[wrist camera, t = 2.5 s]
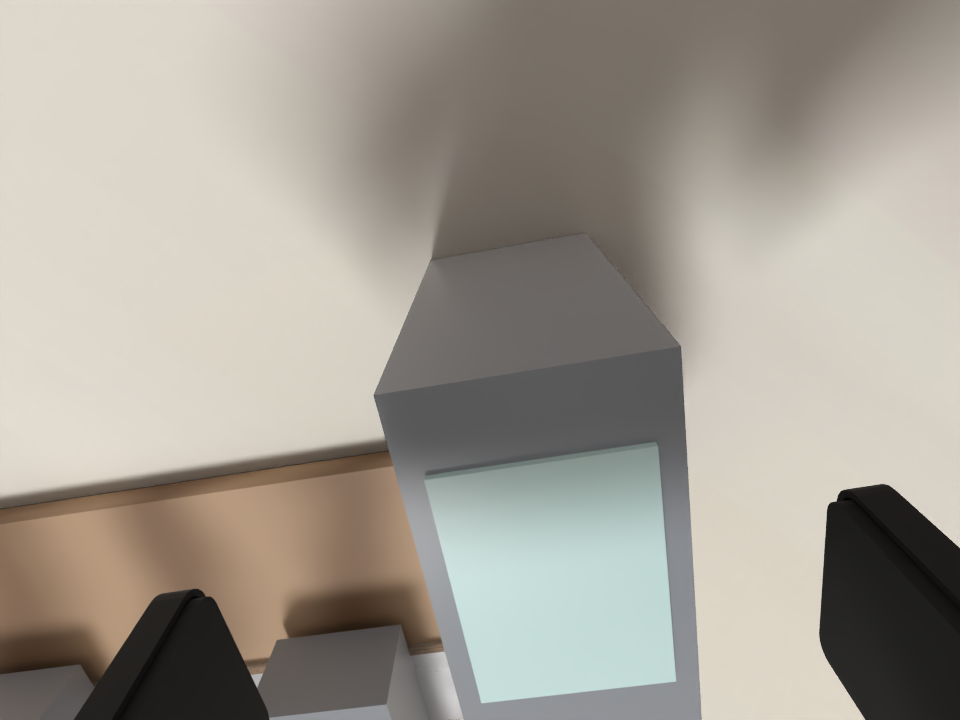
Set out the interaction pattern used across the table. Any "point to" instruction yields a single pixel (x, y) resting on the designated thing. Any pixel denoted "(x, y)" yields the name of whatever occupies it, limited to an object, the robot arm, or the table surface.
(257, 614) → the board
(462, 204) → the table surface
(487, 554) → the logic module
